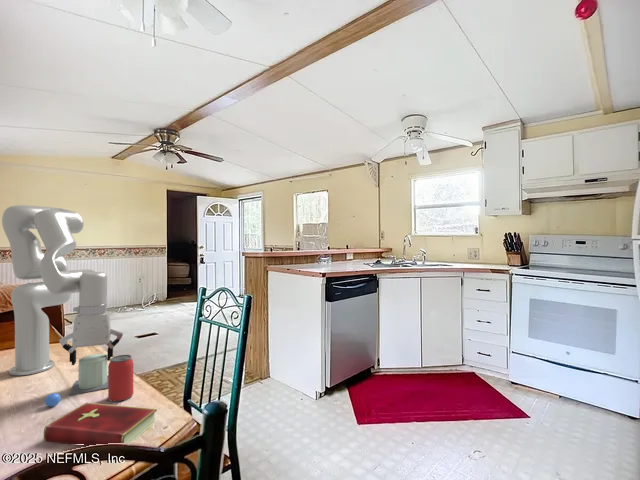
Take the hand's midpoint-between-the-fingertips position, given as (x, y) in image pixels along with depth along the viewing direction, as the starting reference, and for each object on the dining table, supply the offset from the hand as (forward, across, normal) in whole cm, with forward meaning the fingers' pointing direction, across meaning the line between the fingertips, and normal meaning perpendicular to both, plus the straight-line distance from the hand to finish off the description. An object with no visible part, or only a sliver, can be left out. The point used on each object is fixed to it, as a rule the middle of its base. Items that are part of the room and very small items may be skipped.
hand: (91, 361), depth 110 cm
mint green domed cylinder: (+7, +1, -1) cm, 7 cm away
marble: (+6, -8, -12) cm, 15 cm away
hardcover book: (+7, +6, -34) cm, 35 cm away
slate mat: (+7, +1, -1) cm, 8 cm away
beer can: (+7, +9, -15) cm, 19 cm away
